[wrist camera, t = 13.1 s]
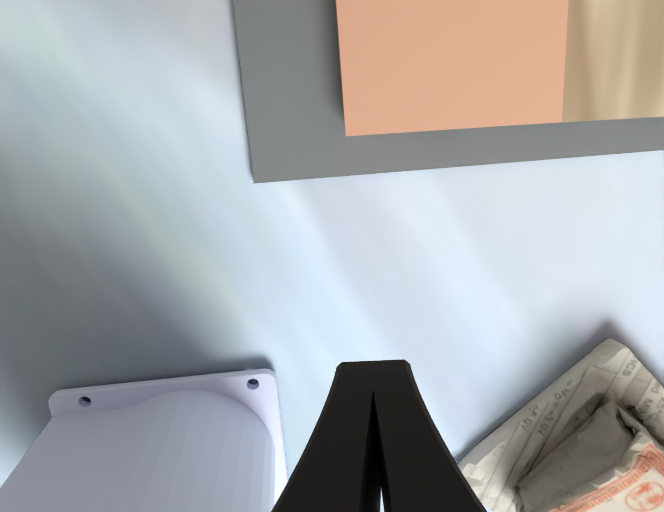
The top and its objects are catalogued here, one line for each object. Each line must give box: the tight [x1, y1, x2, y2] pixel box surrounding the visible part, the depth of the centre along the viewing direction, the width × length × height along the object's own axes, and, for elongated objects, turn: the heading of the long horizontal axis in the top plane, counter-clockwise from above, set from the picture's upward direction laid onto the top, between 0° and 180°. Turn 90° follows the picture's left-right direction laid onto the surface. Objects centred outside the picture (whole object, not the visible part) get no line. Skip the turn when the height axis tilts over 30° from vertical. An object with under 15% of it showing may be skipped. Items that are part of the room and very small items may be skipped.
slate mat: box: [233, 0, 664, 183], centre depth 19 cm, size 24×8×1 cm, turn 94°
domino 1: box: [336, 0, 569, 136], centre depth 17 cm, size 1×5×7 cm
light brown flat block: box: [526, 0, 664, 125], centre depth 17 cm, size 1×5×7 cm
